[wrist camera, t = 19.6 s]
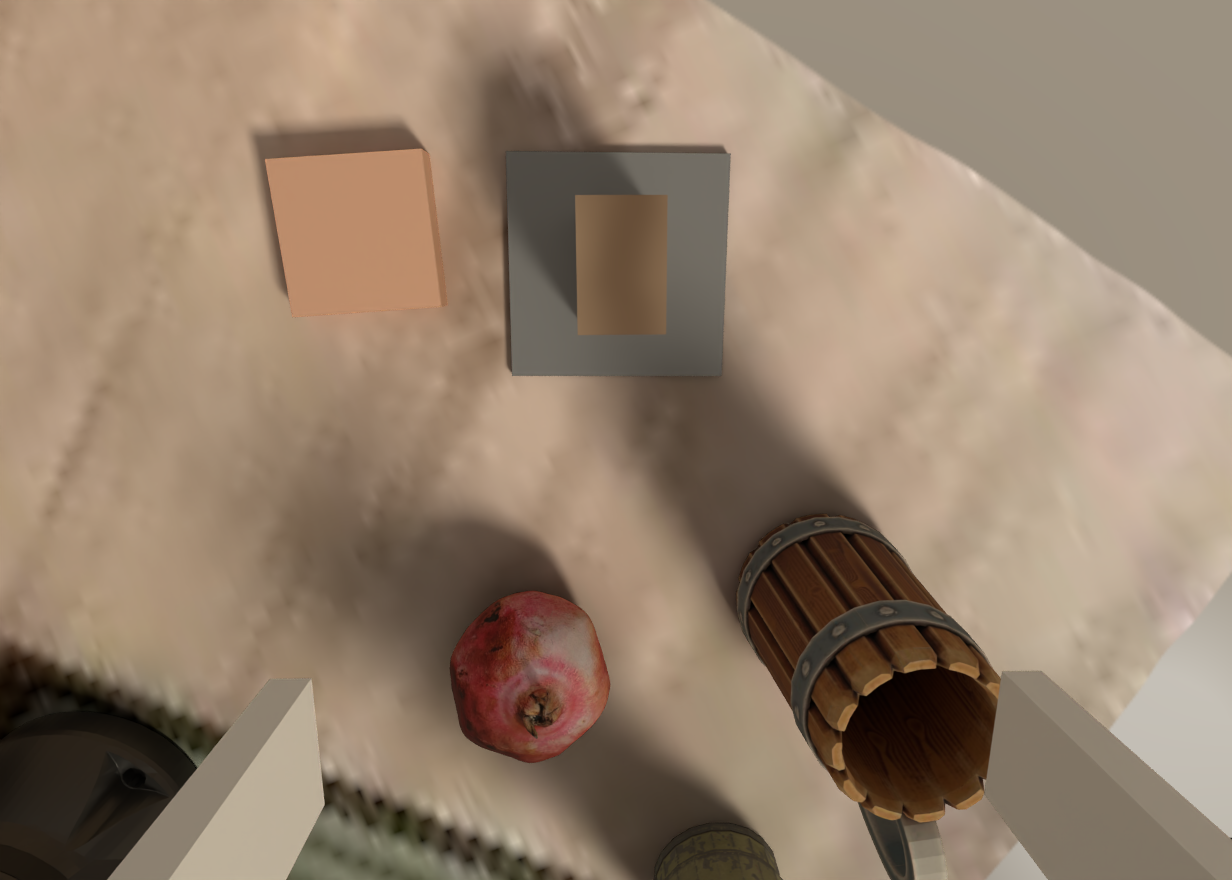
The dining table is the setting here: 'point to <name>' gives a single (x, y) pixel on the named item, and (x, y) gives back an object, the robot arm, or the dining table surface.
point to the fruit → (529, 676)
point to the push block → (621, 264)
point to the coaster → (550, 273)
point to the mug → (873, 680)
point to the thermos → (717, 855)
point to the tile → (358, 232)
